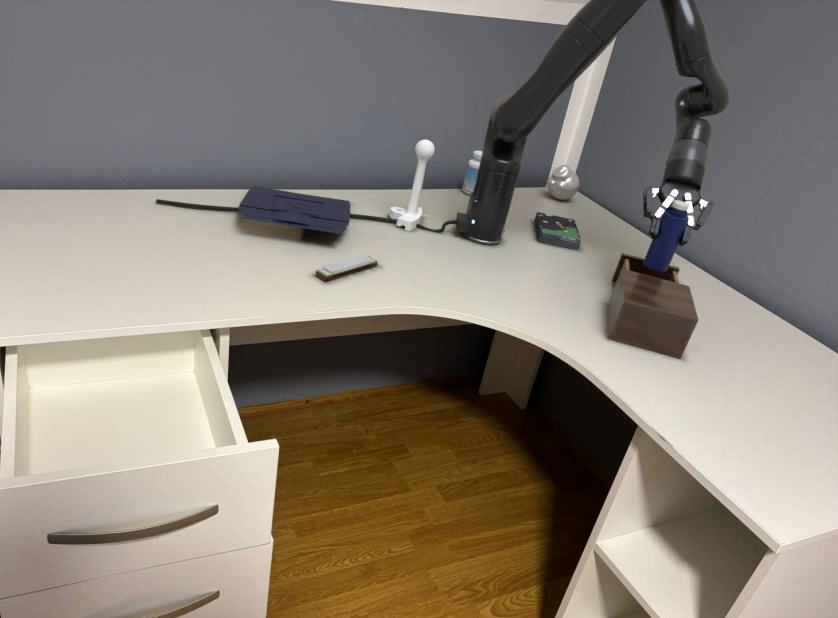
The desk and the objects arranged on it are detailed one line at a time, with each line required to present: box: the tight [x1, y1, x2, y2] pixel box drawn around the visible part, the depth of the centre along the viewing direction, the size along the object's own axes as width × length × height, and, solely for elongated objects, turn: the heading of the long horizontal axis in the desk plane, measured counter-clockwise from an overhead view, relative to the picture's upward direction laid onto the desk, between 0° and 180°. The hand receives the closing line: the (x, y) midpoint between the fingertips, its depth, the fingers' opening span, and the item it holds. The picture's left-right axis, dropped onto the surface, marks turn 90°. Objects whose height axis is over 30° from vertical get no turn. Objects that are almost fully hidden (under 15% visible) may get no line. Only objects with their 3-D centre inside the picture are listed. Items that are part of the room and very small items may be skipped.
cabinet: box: [607, 269, 699, 360], centre depth 138 cm, size 16×14×9 cm
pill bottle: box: [461, 150, 483, 195], centre depth 193 cm, size 6×6×11 cm
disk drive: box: [533, 211, 582, 250], centre depth 177 cm, size 10×3×15 cm
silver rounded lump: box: [546, 164, 580, 201], centre depth 201 cm, size 9×10×10 cm
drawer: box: [611, 252, 681, 287], centre depth 150 cm, size 18×12×7 cm
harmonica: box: [315, 254, 379, 282], centre depth 140 cm, size 15×3×2 cm, turn 136°
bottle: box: [643, 200, 689, 272], centre depth 142 cm, size 5×5×14 cm
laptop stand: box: [237, 185, 351, 235], centre depth 159 cm, size 24×30×4 cm
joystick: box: [388, 139, 436, 232], centre depth 164 cm, size 11×8×20 cm
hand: (668, 240), depth 141 cm, fingers closed on bottle, 5 cm apart
